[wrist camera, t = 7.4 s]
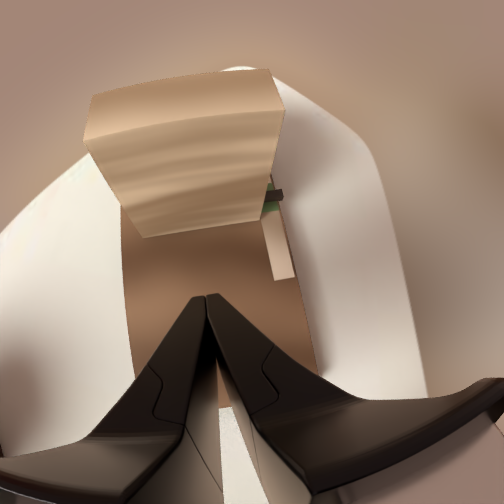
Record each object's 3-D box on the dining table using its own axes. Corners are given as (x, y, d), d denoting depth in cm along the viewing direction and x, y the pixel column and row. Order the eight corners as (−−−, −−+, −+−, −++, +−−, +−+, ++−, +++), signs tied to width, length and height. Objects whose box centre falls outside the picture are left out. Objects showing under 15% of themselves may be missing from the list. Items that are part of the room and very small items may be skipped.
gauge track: (314, 384, 16) (367, 400, 10) (148, 412, 15) (101, 444, 8) (260, 150, 21) (272, 75, 15) (126, 170, 20) (95, 101, 13)
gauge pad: (285, 216, 18) (327, 109, 10) (142, 238, 17) (82, 141, 8) (276, 181, 19) (306, 69, 10) (141, 201, 18) (92, 95, 9)
